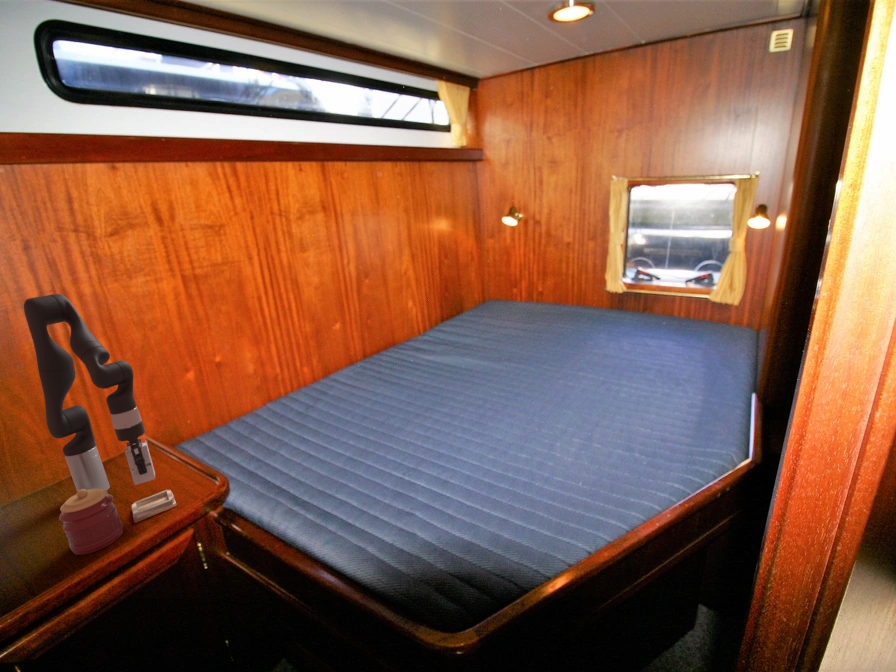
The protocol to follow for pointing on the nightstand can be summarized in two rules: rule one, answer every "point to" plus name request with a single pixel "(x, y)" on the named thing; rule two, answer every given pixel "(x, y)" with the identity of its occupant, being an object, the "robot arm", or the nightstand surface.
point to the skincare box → (134, 470)
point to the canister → (90, 521)
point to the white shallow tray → (153, 505)
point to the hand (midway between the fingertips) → (142, 470)
